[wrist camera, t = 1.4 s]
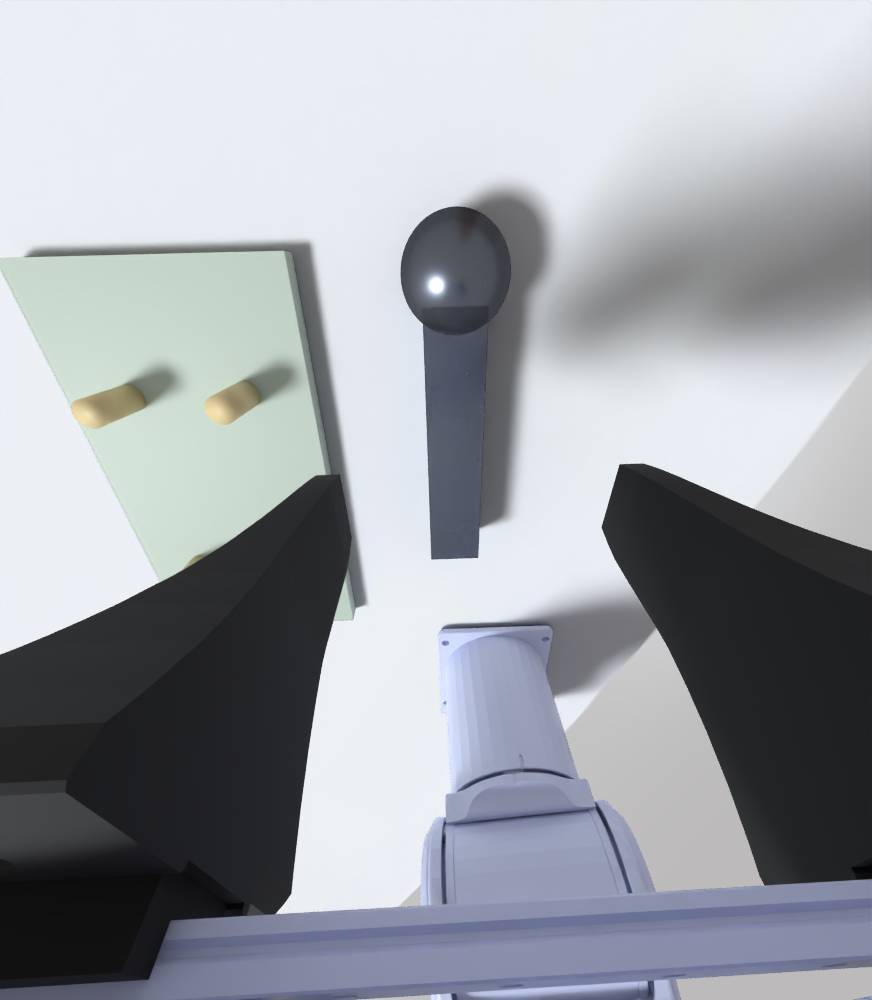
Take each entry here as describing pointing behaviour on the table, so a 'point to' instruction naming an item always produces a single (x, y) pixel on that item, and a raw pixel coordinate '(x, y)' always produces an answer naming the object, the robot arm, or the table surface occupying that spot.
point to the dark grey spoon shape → (455, 360)
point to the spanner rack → (183, 387)
